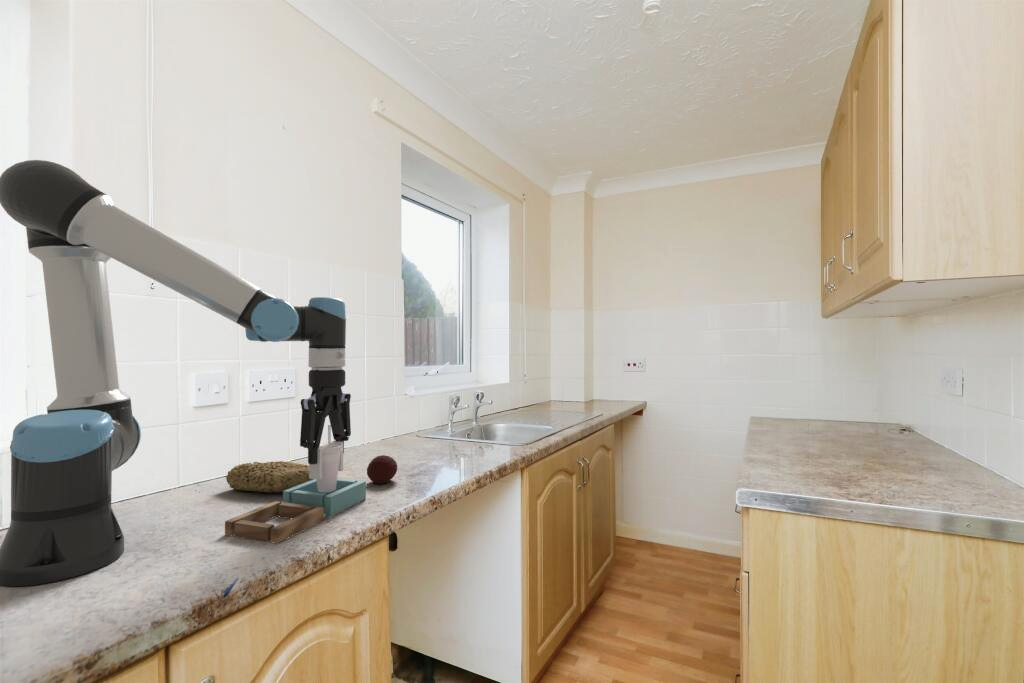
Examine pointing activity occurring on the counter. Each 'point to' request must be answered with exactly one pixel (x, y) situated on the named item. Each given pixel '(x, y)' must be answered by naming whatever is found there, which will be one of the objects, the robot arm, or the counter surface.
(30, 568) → the robot arm
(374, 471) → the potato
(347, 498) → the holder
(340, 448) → the smoothie
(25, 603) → the counter surface
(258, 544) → the counter surface
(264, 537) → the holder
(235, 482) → the sponge
